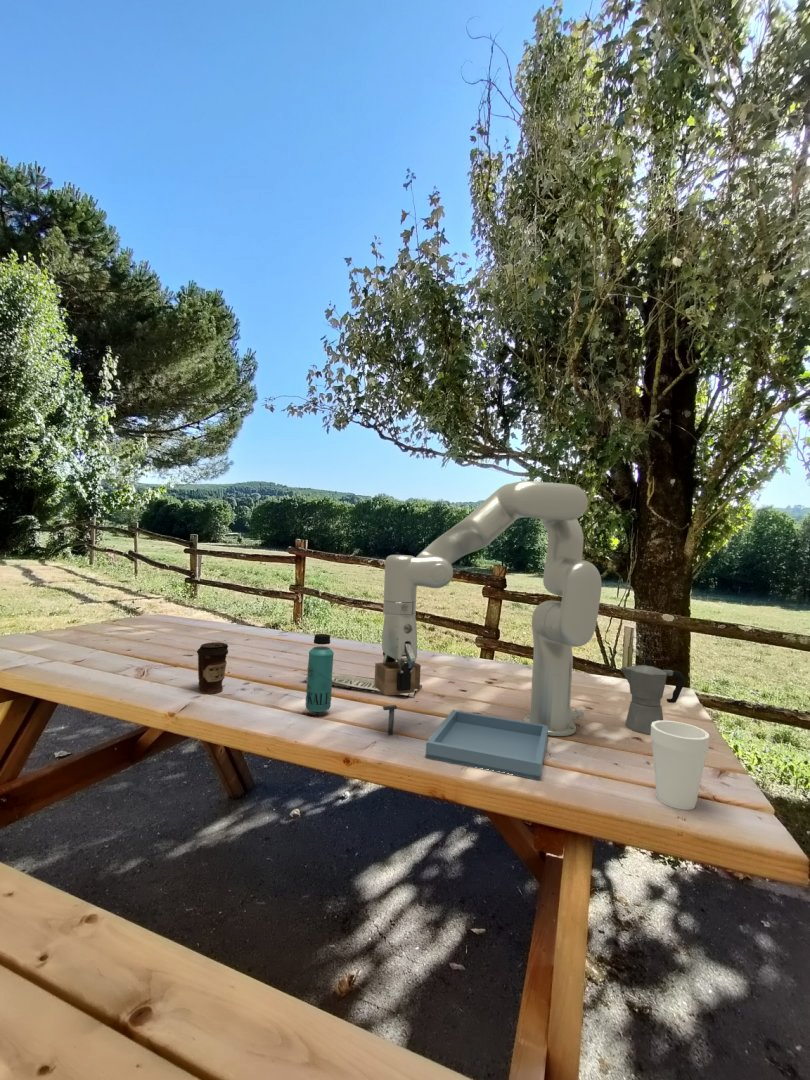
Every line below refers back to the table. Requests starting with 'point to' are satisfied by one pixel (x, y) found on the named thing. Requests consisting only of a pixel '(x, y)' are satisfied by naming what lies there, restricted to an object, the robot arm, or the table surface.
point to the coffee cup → (211, 666)
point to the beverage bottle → (319, 675)
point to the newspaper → (357, 683)
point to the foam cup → (678, 762)
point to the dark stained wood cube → (394, 678)
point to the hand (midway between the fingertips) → (396, 684)
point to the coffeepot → (648, 694)
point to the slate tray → (490, 743)
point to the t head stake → (390, 717)
